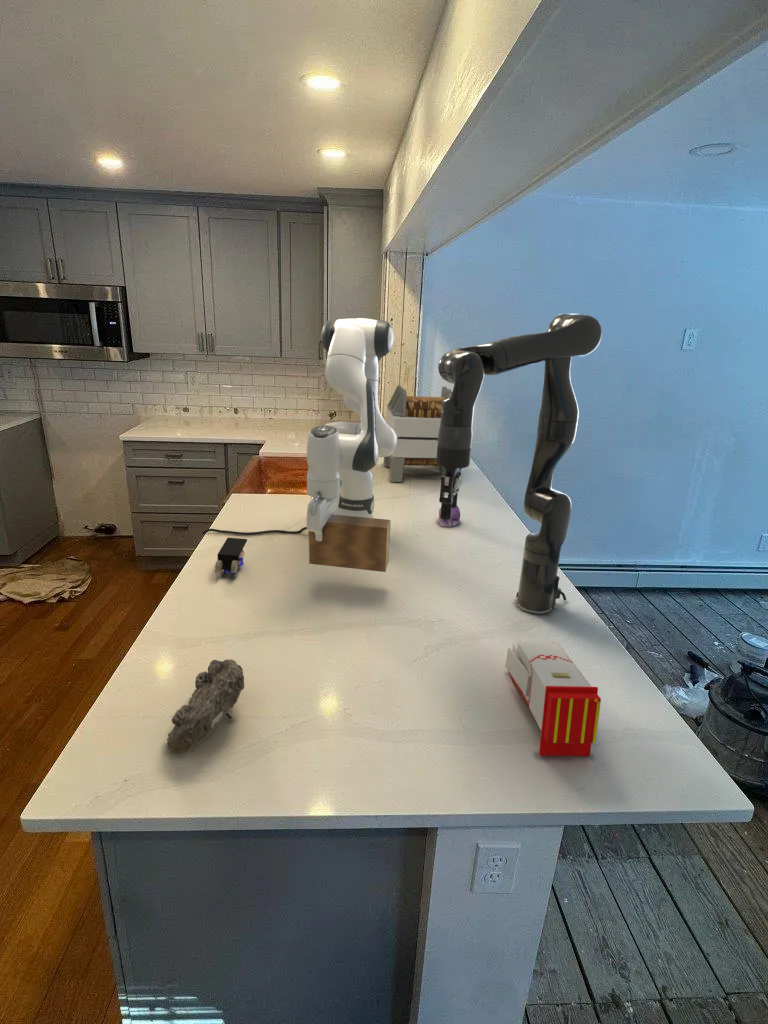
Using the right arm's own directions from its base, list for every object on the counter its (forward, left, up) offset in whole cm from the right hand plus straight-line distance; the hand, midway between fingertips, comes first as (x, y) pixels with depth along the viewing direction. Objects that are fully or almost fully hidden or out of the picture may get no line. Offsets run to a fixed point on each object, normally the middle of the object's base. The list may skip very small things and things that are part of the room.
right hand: (448, 512), depth 131 cm
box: (+15, -28, -24) cm, 40 cm away
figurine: (-36, -67, -31) cm, 82 cm away
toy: (-8, +33, -31) cm, 46 cm away
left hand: (+22, -32, -16) cm, 42 cm away
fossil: (+55, +17, -31) cm, 66 cm away
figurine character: (+45, -47, -31) cm, 72 cm away
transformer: (-52, -132, -31) cm, 145 cm away
